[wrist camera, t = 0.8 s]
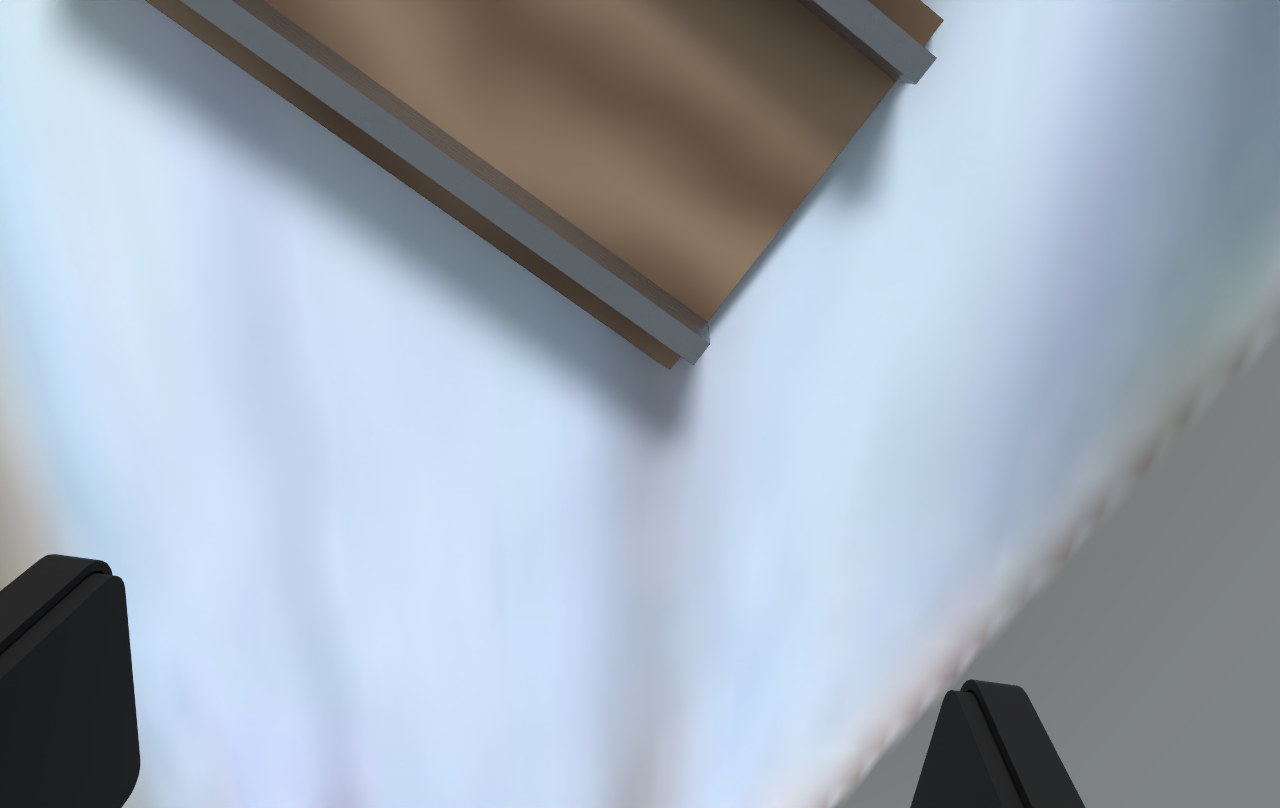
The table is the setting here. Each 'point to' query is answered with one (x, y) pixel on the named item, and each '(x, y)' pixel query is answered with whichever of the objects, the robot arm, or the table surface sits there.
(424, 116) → the track
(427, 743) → the table surface
